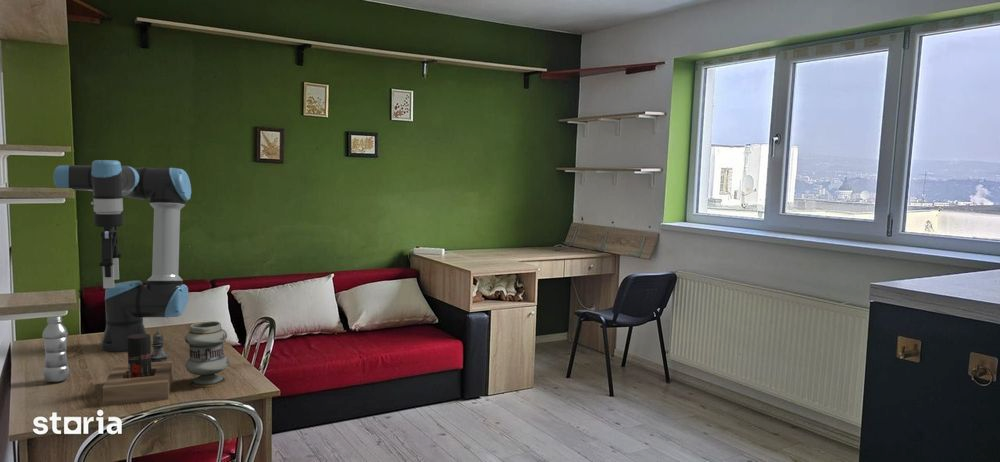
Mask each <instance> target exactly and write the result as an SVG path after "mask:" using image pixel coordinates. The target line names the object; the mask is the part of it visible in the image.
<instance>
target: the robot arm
mask: <svg viewBox="0 0 1000 462" xmlns="http://www.w3.org/2000/svg"><path fill="white" fill-rule="evenodd" d="M121 164H122V163H121V162H120V161H119V160H116V159H115V160H114V159H113V160H112V159H111V160H109V159H108V160H107V159H104V160H103V159H101V160H100V159H97V160H93V161H92V162H91V165H79V164H78V165H70V164H67V165H66V164H65V165H63V164H62V165H58V166H56V167H55V169H54V171H53V174H52V175H53V179H52V180H53V183H54V185H55V187H56V188H57V189H58V188H72V189H74V190H73V191H89V192H92V199H93V200H92V201H91V202H90V205H93V212H94V214H93V224H94V227H98V228H103V231H101V233H100V237H101V262H100V263H99V262H98V263H99V267H102V268H101V269H102V283H103V284H102V288H103V289H105V290H104V292H105V293H104V294H105V296H104V303H105V307H104V308H105V330H104V332H103V336H102V338H101V342H100V349H101V350H103V351H106V352H107V351H108V352H128V342H127V337H128V336H130V335H134V334H148V333H147V330H146V328H145V324H144V318H166V319H168V318H177V317H180V316H182V314H183V313H184V312H185V310H186V308H187V305H188V300H189V288H188V286H187V285H186V284H184V283H183V282H184V279H182V277H181V276H180V275H179V269H180V267H179V264H180V263H179V262H180V234H181V233H180V229H181V228H180V227H181V210H182V209H183V208H184V207H185V206H186V201H189V200H191V195H192V185H191V181H190V177H189V175H188V173H187V172H186V170H184V169H182V168H177V167H133V166H129V165H121ZM123 197H126V198H130V199H135V200H143V201H144V200H145V201H146V200H147V201H148V200H149V205H150V207H152V208H153V233H152V234H153V235H152V236H153V237H152V241H153V242H152V262H151V263H152V267H151V269H152V271H151V276H150V277H149V278H148V279H146V284H143V282H142V281H141V280H136V279H135V280H128V281H121V282H117V283H115V280H116V281H117V280H120V270H119V269H120V268H119V267H120V265H119V259H121V256H122V255H121V253H120V252H119V245H118V244H119V243H118V239H119V237H118V236H119V235H118V233H119V232H118V231H117V229H118V228H117V227H122V226H123V225H124V214H123V213H122V212H123V211H124V202H123V201H124V198H123Z"/></svg>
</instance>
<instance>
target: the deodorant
mask: <svg viewBox="0 0 1000 462" xmlns="http://www.w3.org/2000/svg"><path fill="white" fill-rule="evenodd" d="M127 342H128V351H127V364H128V372H129V378H137V377H148V376H152V374H151V355H152V350H151V349H152V348H151V347H152V344H151V334H150V333H147V334H134V335H130V336H128V337H127Z"/></svg>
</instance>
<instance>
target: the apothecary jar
mask: <svg viewBox="0 0 1000 462" xmlns="http://www.w3.org/2000/svg"><path fill="white" fill-rule="evenodd" d="M227 339H228V333H227V331H226V330H225V329H223V327H222V324H221V322H220V321H214V320H210V321H209V320H208V321H199V322H195V323H192V324H191V325H190V328H189V331H188V332H187V333H186V335H185V336H184V341H185V343H187V344H188V346H189V348H188V349H189V359H187V361H186V362H185V369H186V371H187V372H189V373H190V374H192V375H195V376H197V377H195V378H194V377H193V378H192V379H191V380H190V381H189V384H190V385H192V386H193V387H195V388H196V387H197V388H198V387H199V388H205V387H208V388H209V387H214V386H218V384H219V385H221V384H222V383H223V384H224V382H225V381H226V378H225V377H224V376H222V375H218V374H220V373H221V372H222V371H224V370H225V369H226V368H227V367H229V366H228V365H229V364H230V363H229V362H230V361H229V358H228V357H227V355H225V354H224V353H225V351H224V350H225V349H224V342H225V341H226V340H227Z"/></svg>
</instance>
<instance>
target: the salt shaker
mask: <svg viewBox="0 0 1000 462" xmlns="http://www.w3.org/2000/svg"><path fill="white" fill-rule="evenodd" d="M163 338H164V336H163V334H162V333H160V331H159V330H156V332H155V333H154V334H153V335H152V344H151V347H152V352H151V363H152V362H164V361H168V357H169V353H165V352H164V351H165V350H164V345H165V343H164V339H163Z"/></svg>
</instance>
